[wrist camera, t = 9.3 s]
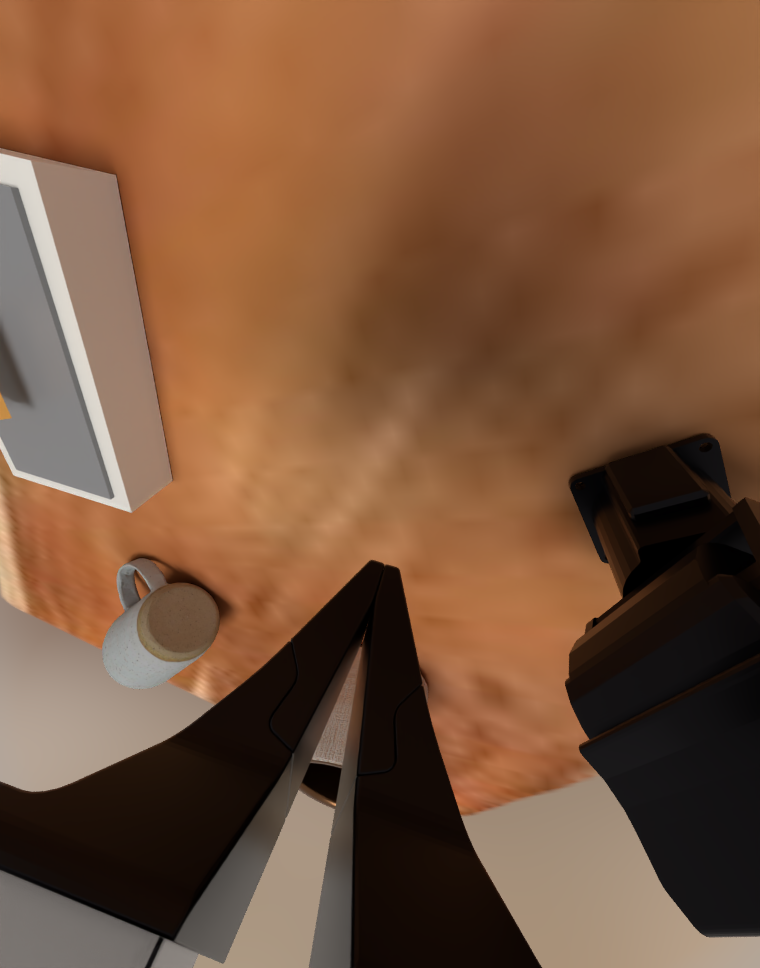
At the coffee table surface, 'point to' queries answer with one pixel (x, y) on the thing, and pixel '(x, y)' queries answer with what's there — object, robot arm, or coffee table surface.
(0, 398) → the lever
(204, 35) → the coffee table surface
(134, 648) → the ceramic mug
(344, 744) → the planter
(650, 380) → the coffee table surface
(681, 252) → the coffee table surface
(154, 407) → the breaker housing
